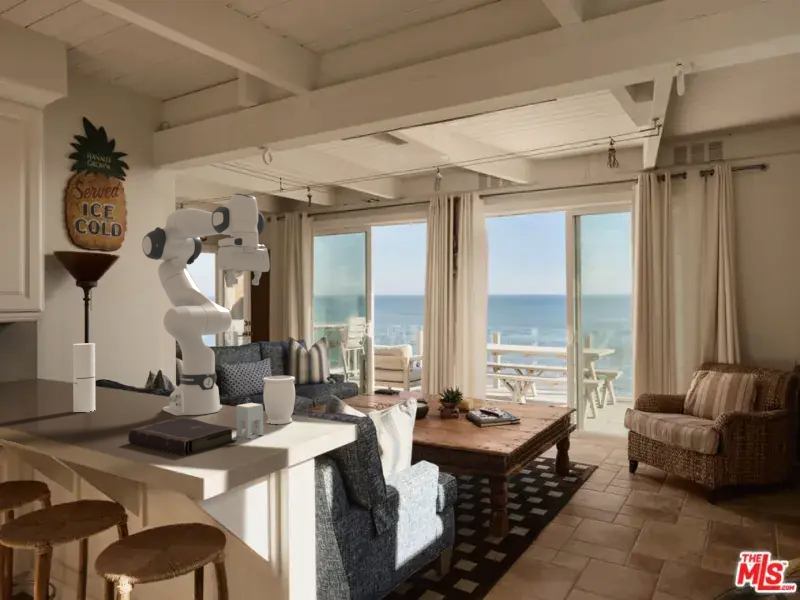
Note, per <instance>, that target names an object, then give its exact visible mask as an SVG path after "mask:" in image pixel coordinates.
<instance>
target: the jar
mask: <svg viewBox="0 0 800 600" xmlns="http://www.w3.org/2000/svg"><path fill="white" fill-rule="evenodd" d="M294 381H296V376H292V375H272V376H266V377H263V382H264V387H263V394H262V395H263V404H264V409H265V414H266V416H267V420H266V423H267V422H269V423H272V424H271V425H275V424H278V425H286V424H290V423H292V422H293V418H292V417H291V416H292V415H293V412H294V408H295V401H296V388H295V384H294ZM269 423H268V424H269Z"/></svg>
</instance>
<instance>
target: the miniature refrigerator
mask: <svg viewBox="0 0 800 600" xmlns="http://www.w3.org/2000/svg"><path fill="white" fill-rule="evenodd" d="M72 350H73V351H72V368H73V369H72V372H73V373H72V374H73V375H72V380H73V381H72V382H73V383H72V386H73V388H72V389H73V390H72V395H73V397H72V399H73V400H72V403H73V405H72V406H73V409H72V411H73V413H74V412H87V413H91V412H90V411H92V412H95V411H96V343H95V342H93V343H92V342H91V343H90V342H89V343H73V344H72ZM94 410H95V411H94Z"/></svg>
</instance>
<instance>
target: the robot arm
mask: <svg viewBox="0 0 800 600" xmlns="http://www.w3.org/2000/svg"><path fill="white" fill-rule="evenodd" d="M265 229H266V219H265V217H264V215H263V213H262V212H261V211H260V210H259V208H258V201H257V198H256V197H255V196H254V195H251V194H246V193H233V194H232V195H231V197H230V200H228V202H226V203H224V204H223V205H221V206H218V207H217V208H215V209H214V210H213V212H212V211H208V210H203V209H200V208H194V207H189V208H188V207H186V208H181V209H178V210H175V211H172V212H171V213H170V214H169V215H168V216H167V218H166V222H165V227H164V228H161V227H160V226H157V227H156V228H155V229H154V230H151V231H149V232H148V233H146V234H145V236H144V237H143V239H142V252H143V253H144V255H145V256H146V258H148V259H151V260H163V261H162V262H161V263H160V264H159V266H158V268H157V273H158V278H159V280H160V283H161V287H162V288H163V290H164V292H165V294H166V296H167V298H168V299H169V302H170V303H171V305H172V306H174V307H171V308H169V309H168V310H167V311H166V312H165V314H164V316H163V320H162V321H163V327H164V330H165V331H166V332H167V333H168V334H169V335H170V336H172V337H173V339H175V340H176V342H177V343H178V347H179V348H180V351H181V355H182V374H180V375H179V379H180V381H179V382H180V383H179V385H178V386H177V387H176V388H175V389H174V390H173V391H172V392H171V393H170V395H169V405H167V406H164V407H162V410H163V411H164V412H166V413H169V414H171V415H174V416H176V417H177V416H196V415H197V416H199V415H200V416H201V415H207V414H212V413H213V414H214V413H217V412H220V410H221V409H222V408H223V405H222V404H221V403H220V402H221V401H220V394H219V393H220V391H219V386H218V385H217V384H216V382H217V372H216V354H215V352H214V350H213V349H212V347H210V346H208V345H207V344H205V343H204V341H203V336H210V335H213V336H214V335H218V334H222V333H225V332H227V331H228V330H230V328H231V325H232V321H233V320H232V318H233V317H232V314H231V312H230V310H229V309H228V308H227V307H224V306H222V305H219V304H218V303H216V302H215V301H214V300H212V299H210V298H209V297H208V296H207V295H206V294H204V293H203V292H202V291H201V289H200V288H199V286H198V285H197V283H196V281H195V280H194V278H193V277H192V275H191V273H190V271H189V269H188V267H187V266H188V265H192V264H193V263H194V262H195V260H197V259H198V257H199V256H200V255H201V253H202V250H203V243H202V240H201V238H203V237H208V236H214V235H226V236H228V237H224V238H221V239H218V242H217V245H218V246H219V248H218V250H217V254H216V255H217V257H216V258H217V259H216V261H217V267H218V269H219V270H225V271H227V275H228V277H229V279H230V285H238V284H239V282H238V281H239V280H238V278H236V275H235V274H236V271H241V272H253V275H254V278H253V279H251V285H253V286H259V285H260V279H261V276H262V273H266V272H269V270H270V256H269V252H268V248H267V247H266V246H265V245H264V244H259V237H260V236H261V235H262V233H263V232H264V230H265Z"/></svg>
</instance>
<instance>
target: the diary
mask: <svg viewBox="0 0 800 600" xmlns="http://www.w3.org/2000/svg"><path fill="white" fill-rule="evenodd" d="M236 429H237V428H236V427H232V426H231V427H230V426H226V425H220V424H214V423H210V422H209V423H208V422H206V421H202V420H198V419H195V418H189V417H178V418H177V417H176V418H173V419H172V418H170V419H167V420H162V421H158V422H153V423H151V424H146V425H143V426H140V427H137V428H136V427H135V428H132V429H130V430H129V433H128V442H129V444H130V443H131V444H130V445H134V446H139V445H140V447H145V448H147V449H152V448H153V449H152V450H156V449H159V450H158V451H161V450H164V451H163V452H165V451H168V452H167V453H170V452H172V453H171V454H174V453H176V454H175V455H178V454H179V455H178V456H182V455H183V456H182V457H186V456H187V455H191V454H194V453H199V452H201V451H204V450H208V449H212V448H220V447H223V446H227V445H231V444H235V443H236V442H237V441H238V439H233V430H236ZM191 452H192V453H191ZM187 453H188V454H187Z"/></svg>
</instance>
